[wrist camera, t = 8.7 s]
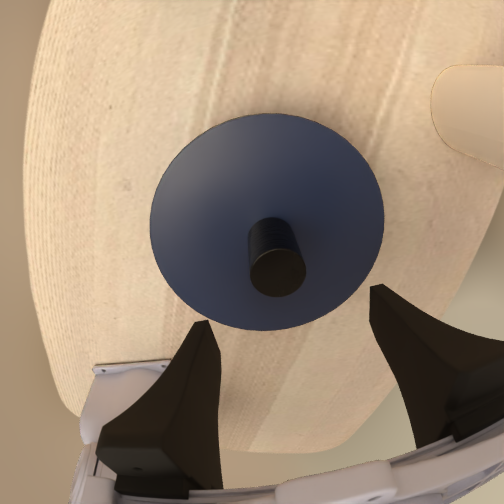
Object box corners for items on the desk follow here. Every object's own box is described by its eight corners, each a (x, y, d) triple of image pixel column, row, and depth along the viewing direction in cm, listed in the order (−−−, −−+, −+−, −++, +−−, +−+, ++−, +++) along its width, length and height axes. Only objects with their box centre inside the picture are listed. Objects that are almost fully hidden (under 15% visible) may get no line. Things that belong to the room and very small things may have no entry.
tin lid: (191, 333, 21) (184, 386, 17) (125, 146, 15) (87, 166, 11) (377, 297, 20) (404, 344, 16) (366, 97, 14) (410, 102, 10)
